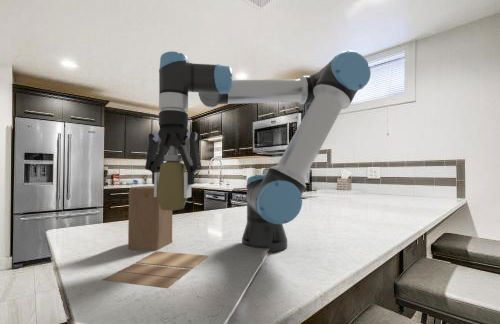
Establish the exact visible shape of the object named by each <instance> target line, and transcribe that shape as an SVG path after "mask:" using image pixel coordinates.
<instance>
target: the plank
mask: <svg viewBox="0 0 500 324" xmlns="http://www.w3.org/2000/svg"><path fill="white" fill-rule="evenodd" d="M208 256H209V255H206V254H205V255H203V254H192V253H191V254H190V253H182V252H170V251H169V252H168V251H159V250H156V251H153V252H152V253H150V254H149V255H147V256H145V257H143V258H142V259H139V260H138V261H136V262H135V264H142V265H152V266H162V267H172V268H182V269H191V270H193V269H195V267H197V266H199V264H201V263H202V262H203V261H204V260H206V259H207V258H208Z"/></svg>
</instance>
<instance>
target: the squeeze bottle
mask: <svg viewBox="0 0 500 324" xmlns="http://www.w3.org/2000/svg"><path fill="white" fill-rule="evenodd" d="M182 161H183V159H182V157H181V154H179V150H178V148H177V147H176V146H170V148H169V150H168V152H167V155H164V162H163V163H162V164H161V165H160V172H159V181H158V189H157V198H158V202H159V205H160V208H161V209H162V210H172V211H179V210H183V209H185V205H186V203H187V200H188V198H184V173H187V172H186V167H185V165H184V162H182Z"/></svg>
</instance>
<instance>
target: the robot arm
mask: <svg viewBox="0 0 500 324" xmlns="http://www.w3.org/2000/svg"><path fill="white" fill-rule="evenodd" d="M159 60H160V61H159V68H158V72H159V73H158V74H159V75H158V76H159V77H158V79H159V80H158V84H159V86H158V87H159V91H158V92H159V94H158V110H159V111H160V112H158V125H159V126H158V127H159V130H158V132H157V133H149V134H148V142H149V143H148V149H147V155H146V161H145V166H144V168H145V170H146V171H150V173H151V184H152V185H153V186H154V197H157V189H158V181H159V172H160V165H161V164H162V163H165V161H164V155H168V152H169V148H170V146H176V147H177V150H178V153H180V154H179V155H181V157H182V161H183V162H182V163H184V165H185V167H186V173H184V198H187V199H189V198H192V185H195V173H196V172H197V171H200V170H202V162H201V154H200V149H199V143H198V142H199V141H198V140H199V133H197V132H195V131H191V132H190V131H189V130H188V126H189V115H188V112H189V92H190V93H198V96H199V100H200V102H201V103H202V104H203V105H204V106H205V107H207V108H215V107H217V106H219V105H227V104H228V105H229V104H231V105H232V104H234V105H236V104H239V105H240V104H258V103H259V104H262V103H263V104H264V103H265V104H266V103H267V104H269V103H298V104H299V105H300V106H301V105H304V106H305V105H309V107H308V109H307V111H306V112H305V114H304V116H303V117H302V120H301V122H300V124H299V125H298V127H297V129H296V131H295V133H294V135H292V138H291V140H290V142H289V143H288V145H287V146H286V149H285V150H284V151H283V154H282V156H281V158H280V159H279V162H278V163H277V164H275V165H274V166H270V167H269V169H268V171H267V172H266V174H257V175H251V176H249V177H248V178H247V180H246V185H245V186H246V187H245V188H246V225H245V227H244V231H243V234H242V237H241V244H243V245H245V246H248V247H251V248H257V249H268V250H267V253H274V252H279V251H284V250H286V249H287V248H288V237H287V235H286V231H285V229H284V228H285V227H284V224H287V223H290V222H292V221H293V220H295V218H297V217H298V215H299V214H300V212H301V210H302V206H303V197H302V196H303V194H304V192H305V190H306V189H307V184H306V182H305V178H306V176H307V175H308V173H309V171H310V169H311V167H312V165H313V164H314V161H315V159H316V158H317V156H318V154H319V152H320V150H321V148H322V146H323V144H324V143H325V141H326V140H327V137H328V135H329V133H330V132H331V130H332V128H333V126H334V124H335V122H336V121H337V118H338V116H339V115H340V113H341V111H342V110H345V109H347V108H349V107H350V105H351V103H352V102H353V100H354V98H355V96H356V94H357V92H358V91H361V90H362V89H364V88H365V87H366V86H367V85H368V83H370V82H369V81H370V79H371V74H372V73H371V68H370V66H369V63H368V61H367V59H366V58H365V57H364V56H363V55H362V54H361V53H359V52H357V51H354V50H344V51H342V52H340V53H338V54H337V55H335V56H334V57H333V58H332V59H331V60H330V61H329V62H328V63H327V64H326V65H325V66H323V68H322V69H320V70H319V71H318V72H316V73H314V74H311V75H301V76H300V77H299V78H297V79H296V78H289V79H288V78H287V79H286V78H284V79H283V78H282V79H280V78H279V79H233V70H232V68H231V67H230V66H229V65H222V64H211V63H209V64H207V63H192V62H189V58H188V56H187V55H186V54H184V53H183V52H178V51H166V52H164V53H162V54H161V55H160V59H159ZM187 139H188V140H189V142H188V144H189V149H190V150H188V145H187V143H186V140H187ZM159 142H160V143H159ZM189 151H190V153H189Z"/></svg>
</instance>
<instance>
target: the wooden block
mask: <svg viewBox="0 0 500 324" xmlns="http://www.w3.org/2000/svg"><path fill="white" fill-rule="evenodd" d="M127 226H128V231H127V232H128V234H127V236H128V239H127V242H128V243H127V244H128V245H127V248H128V250H139V251H151V252H152V251H153V252H156V251H159V250H161V249H163V248H165V247H167V246H169V245H170V244H172V243H173V210H162V209H161V208H160V205H159V202H158V198H157V197H154V185H144V186H143V185H142V186H132V187H130V188H129V190H128V225H127Z"/></svg>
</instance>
